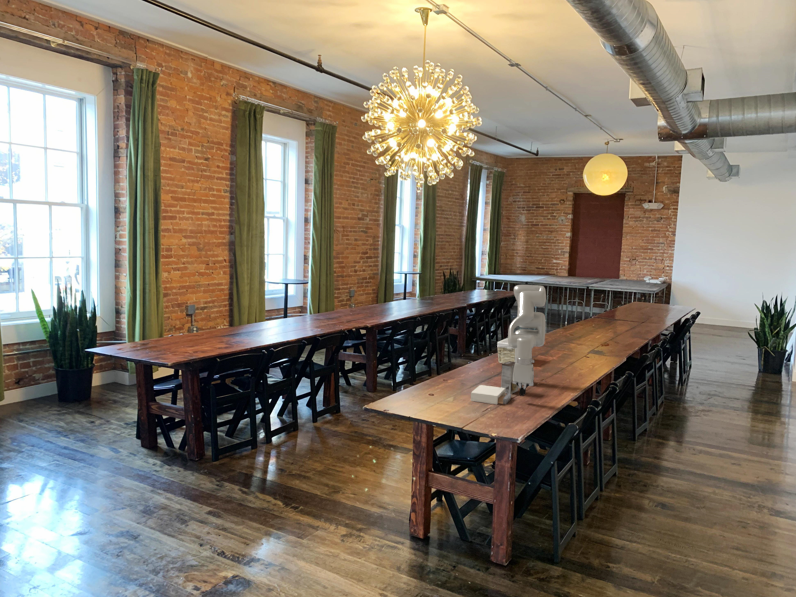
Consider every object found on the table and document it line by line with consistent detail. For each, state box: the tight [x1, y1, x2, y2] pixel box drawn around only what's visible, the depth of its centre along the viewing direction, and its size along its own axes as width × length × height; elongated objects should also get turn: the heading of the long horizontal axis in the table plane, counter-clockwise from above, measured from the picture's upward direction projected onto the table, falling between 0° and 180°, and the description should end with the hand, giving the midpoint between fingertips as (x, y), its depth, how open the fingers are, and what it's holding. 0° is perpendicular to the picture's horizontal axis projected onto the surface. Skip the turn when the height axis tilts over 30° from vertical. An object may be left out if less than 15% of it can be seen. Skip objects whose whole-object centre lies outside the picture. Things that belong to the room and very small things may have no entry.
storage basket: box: [496, 337, 515, 364], centre depth 399 cm, size 24×16×15 cm
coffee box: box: [500, 361, 519, 395], centre depth 322 cm, size 9×6×16 cm
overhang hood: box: [470, 384, 506, 405], centre depth 309 cm, size 17×14×4 cm
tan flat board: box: [498, 393, 512, 405], centre depth 307 cm, size 11×17×3 cm, turn 66°
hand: (522, 395), depth 302 cm, fingers closed
